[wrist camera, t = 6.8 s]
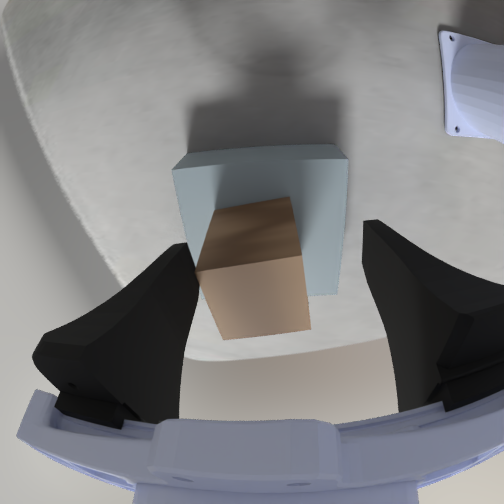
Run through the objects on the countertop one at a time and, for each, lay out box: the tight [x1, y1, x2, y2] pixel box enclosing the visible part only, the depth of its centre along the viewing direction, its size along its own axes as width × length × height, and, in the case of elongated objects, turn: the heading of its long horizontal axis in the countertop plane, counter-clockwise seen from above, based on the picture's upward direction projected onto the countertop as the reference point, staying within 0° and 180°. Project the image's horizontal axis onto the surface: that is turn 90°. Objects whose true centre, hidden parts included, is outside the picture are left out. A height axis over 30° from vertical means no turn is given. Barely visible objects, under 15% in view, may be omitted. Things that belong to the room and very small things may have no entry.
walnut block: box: [195, 197, 311, 340], centre depth 16 cm, size 4×4×6 cm
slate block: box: [172, 144, 348, 299], centre depth 20 cm, size 10×10×4 cm
